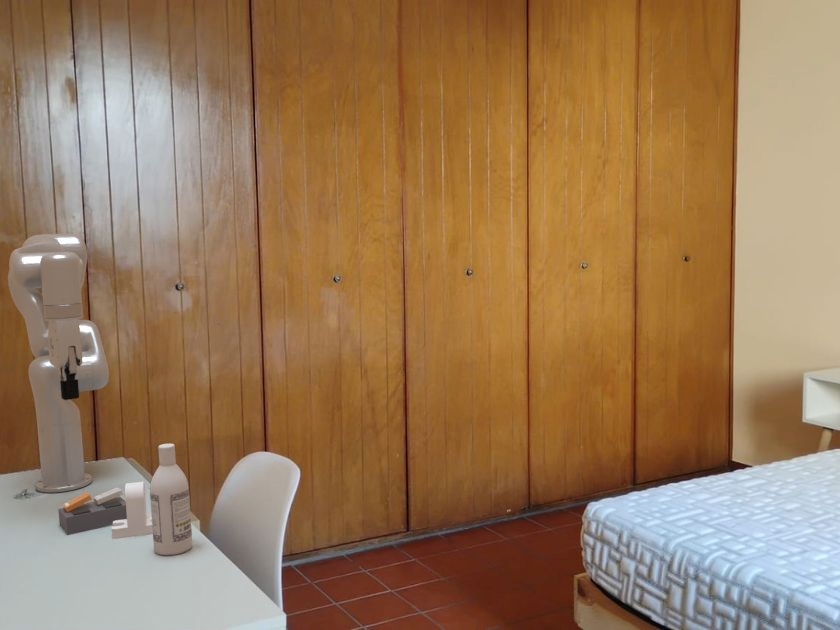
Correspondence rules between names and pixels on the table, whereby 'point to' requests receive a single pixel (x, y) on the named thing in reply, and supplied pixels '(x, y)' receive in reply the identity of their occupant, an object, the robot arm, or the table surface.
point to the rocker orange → (76, 502)
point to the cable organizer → (133, 514)
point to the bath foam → (170, 505)
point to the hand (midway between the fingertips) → (70, 398)
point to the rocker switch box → (92, 515)
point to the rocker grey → (108, 495)
